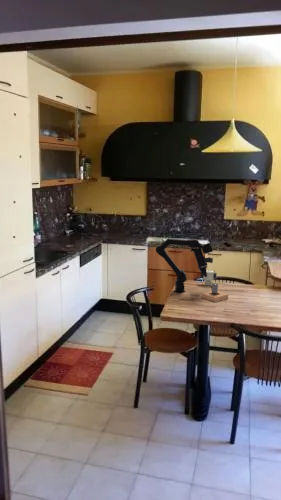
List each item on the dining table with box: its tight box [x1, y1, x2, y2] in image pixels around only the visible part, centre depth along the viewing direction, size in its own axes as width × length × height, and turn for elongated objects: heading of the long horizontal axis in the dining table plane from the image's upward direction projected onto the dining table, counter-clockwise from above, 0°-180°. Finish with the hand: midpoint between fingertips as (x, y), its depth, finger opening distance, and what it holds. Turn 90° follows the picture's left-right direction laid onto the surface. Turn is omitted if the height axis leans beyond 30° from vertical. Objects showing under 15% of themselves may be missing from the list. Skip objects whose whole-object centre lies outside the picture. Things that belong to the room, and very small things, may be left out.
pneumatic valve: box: [200, 269, 217, 286], centre depth 310 cm, size 6×12×12 cm, turn 77°
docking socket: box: [200, 290, 229, 303], centre depth 278 cm, size 13×13×3 cm
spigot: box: [211, 282, 219, 295], centre depth 278 cm, size 4×4×10 cm
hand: (206, 277), depth 284 cm, fingers open, 9 cm apart
